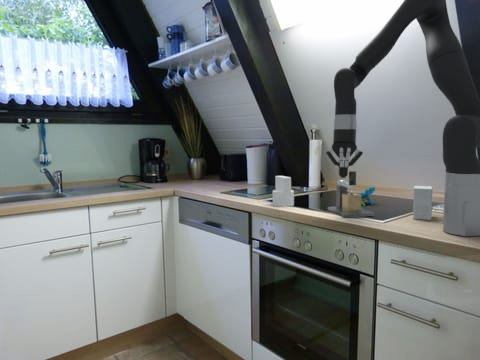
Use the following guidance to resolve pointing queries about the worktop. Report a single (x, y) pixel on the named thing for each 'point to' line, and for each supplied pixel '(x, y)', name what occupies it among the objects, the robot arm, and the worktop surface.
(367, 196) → the blue plastic figure
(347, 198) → the housing
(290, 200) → the base with upright slab
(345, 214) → the press
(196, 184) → the worktop surface
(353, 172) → the lever
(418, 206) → the small box
